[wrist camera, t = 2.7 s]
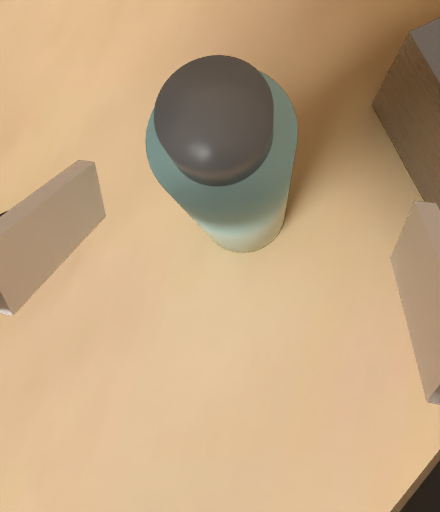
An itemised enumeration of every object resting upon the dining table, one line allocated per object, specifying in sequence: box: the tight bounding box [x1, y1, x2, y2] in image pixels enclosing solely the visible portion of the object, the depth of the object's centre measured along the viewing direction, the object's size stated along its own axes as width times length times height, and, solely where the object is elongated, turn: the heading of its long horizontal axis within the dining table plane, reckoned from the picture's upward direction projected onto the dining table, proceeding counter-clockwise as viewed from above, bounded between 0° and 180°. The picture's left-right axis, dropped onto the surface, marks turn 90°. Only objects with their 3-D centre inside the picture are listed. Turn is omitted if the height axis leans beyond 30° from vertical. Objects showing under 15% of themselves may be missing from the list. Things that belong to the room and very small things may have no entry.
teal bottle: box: [146, 55, 298, 253], centre depth 16 cm, size 5×5×12 cm
